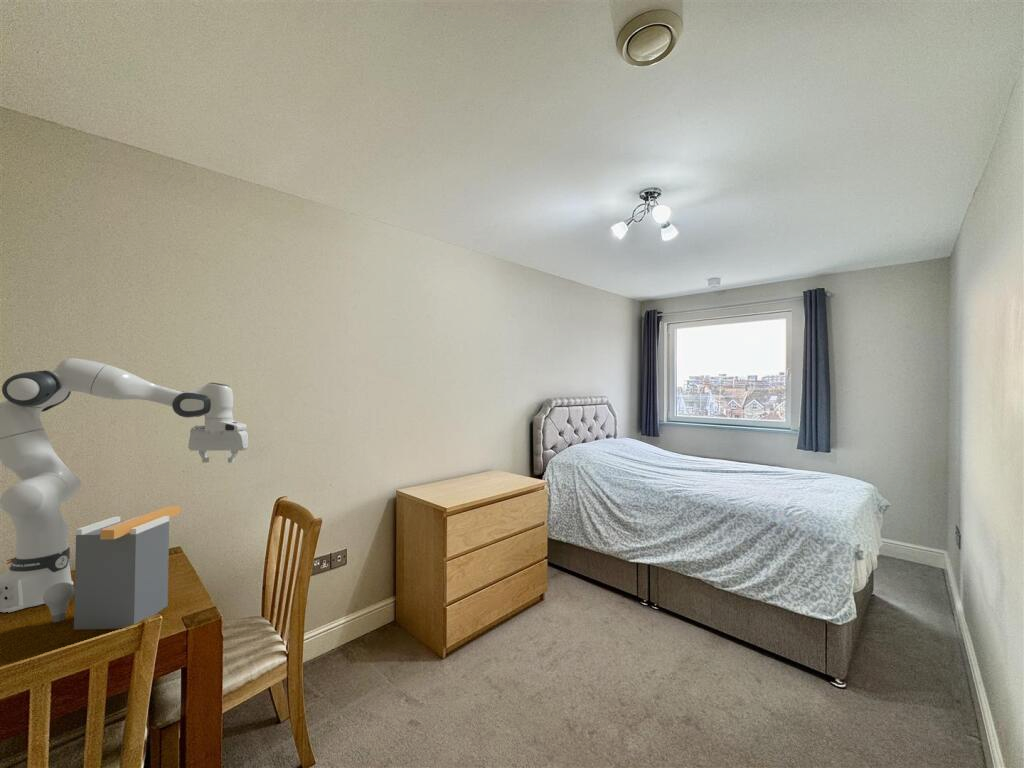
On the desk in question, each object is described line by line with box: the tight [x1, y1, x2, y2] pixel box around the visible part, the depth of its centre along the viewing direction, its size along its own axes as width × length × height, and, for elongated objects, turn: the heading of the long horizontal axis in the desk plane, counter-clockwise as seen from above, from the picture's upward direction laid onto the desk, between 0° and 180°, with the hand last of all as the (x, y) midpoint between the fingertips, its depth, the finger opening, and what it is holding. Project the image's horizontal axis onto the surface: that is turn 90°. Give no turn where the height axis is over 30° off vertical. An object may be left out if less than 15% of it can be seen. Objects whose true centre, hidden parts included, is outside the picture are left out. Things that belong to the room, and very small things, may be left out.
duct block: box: [73, 516, 170, 630], centre depth 122 cm, size 16×12×28 cm
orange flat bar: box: [100, 505, 182, 540], centre depth 124 cm, size 4×24×2 cm, turn 3°
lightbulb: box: [43, 582, 75, 623], centre depth 119 cm, size 6×6×11 cm
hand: (218, 462), depth 157 cm, fingers open, 8 cm apart
